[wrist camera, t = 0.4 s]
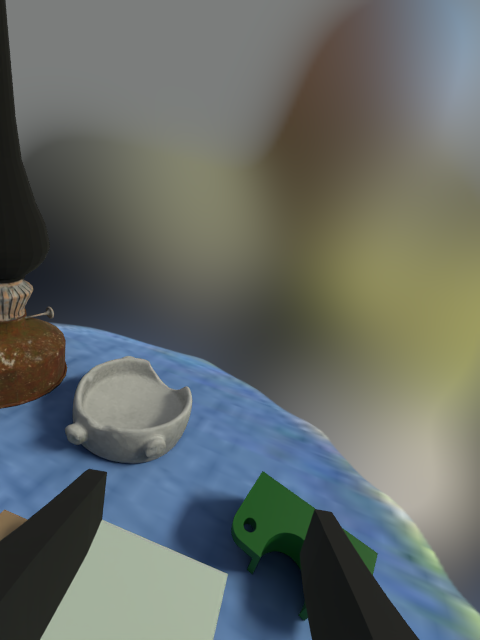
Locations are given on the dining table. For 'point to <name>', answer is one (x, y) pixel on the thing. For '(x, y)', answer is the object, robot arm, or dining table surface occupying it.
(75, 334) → the dining table surface
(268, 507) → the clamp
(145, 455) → the dish
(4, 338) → the oil lamp
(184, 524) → the dining table surface
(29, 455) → the dining table surface
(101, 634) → the lid
